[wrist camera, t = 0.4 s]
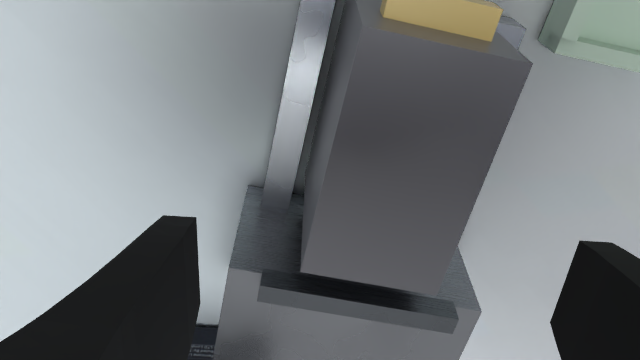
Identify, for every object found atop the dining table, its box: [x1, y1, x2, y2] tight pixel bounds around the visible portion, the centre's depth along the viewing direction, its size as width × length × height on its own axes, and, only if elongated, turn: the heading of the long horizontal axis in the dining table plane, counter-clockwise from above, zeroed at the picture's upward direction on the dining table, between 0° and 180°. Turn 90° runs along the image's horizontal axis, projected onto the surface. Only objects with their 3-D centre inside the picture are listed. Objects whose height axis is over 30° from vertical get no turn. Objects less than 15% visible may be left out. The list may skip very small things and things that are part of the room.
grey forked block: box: [213, 0, 526, 360], centre depth 18 cm, size 8×12×6 cm, turn 168°
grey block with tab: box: [300, 0, 533, 296], centre depth 16 cm, size 4×8×6 cm, turn 168°
